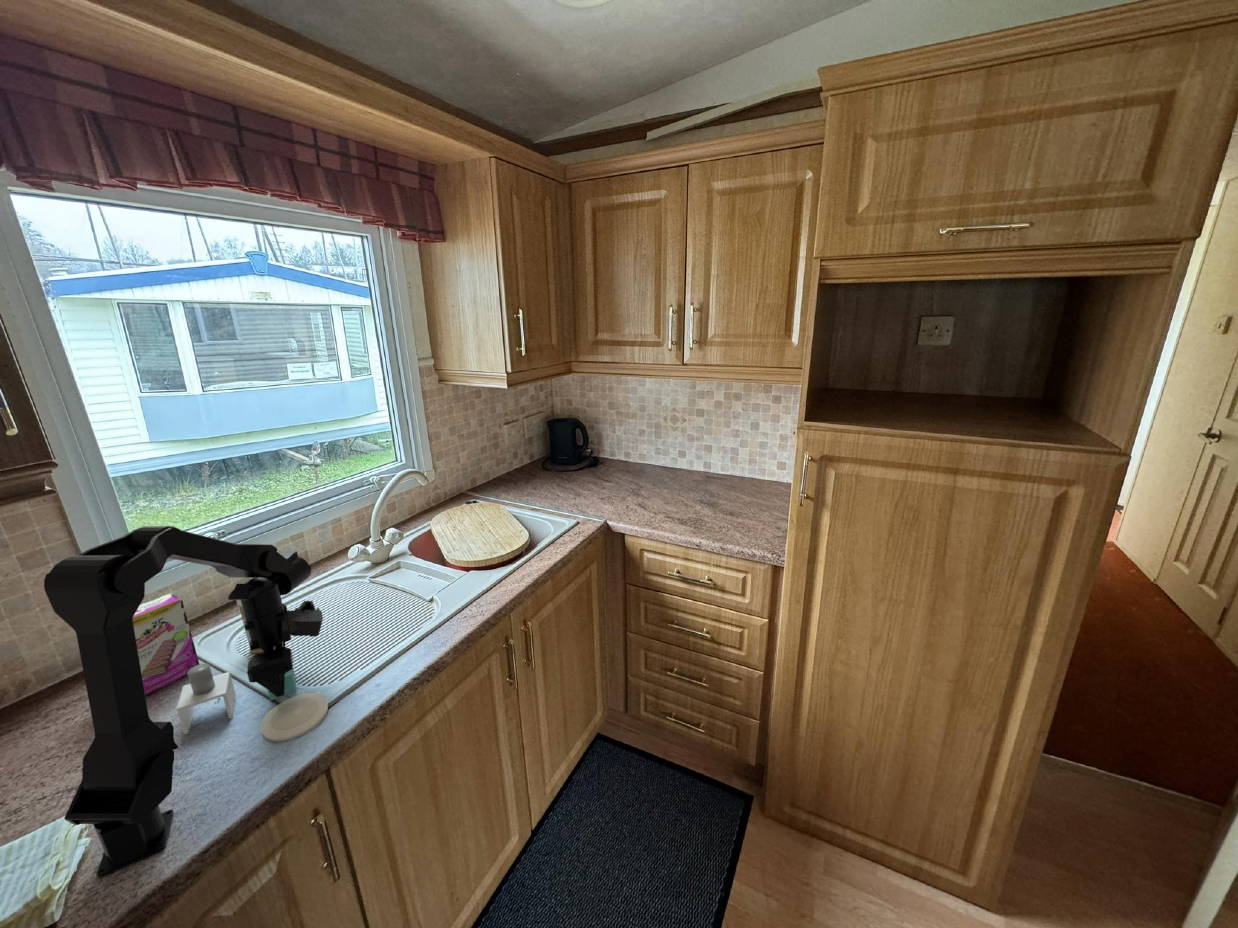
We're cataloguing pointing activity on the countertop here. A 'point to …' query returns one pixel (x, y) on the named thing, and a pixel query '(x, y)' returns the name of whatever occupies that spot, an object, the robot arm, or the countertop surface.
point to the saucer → (294, 717)
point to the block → (287, 684)
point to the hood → (204, 692)
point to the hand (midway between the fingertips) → (281, 681)
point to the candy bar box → (163, 642)
